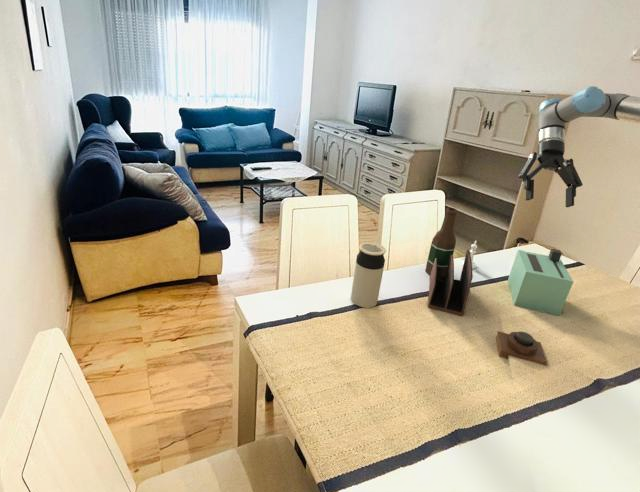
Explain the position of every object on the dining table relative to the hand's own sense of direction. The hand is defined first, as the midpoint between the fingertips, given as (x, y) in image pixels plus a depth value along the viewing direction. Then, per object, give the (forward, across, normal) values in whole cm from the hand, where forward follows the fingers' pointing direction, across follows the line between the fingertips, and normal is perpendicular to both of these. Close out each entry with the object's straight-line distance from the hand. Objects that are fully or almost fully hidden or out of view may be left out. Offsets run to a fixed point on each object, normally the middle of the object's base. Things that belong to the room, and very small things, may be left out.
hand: (549, 202), depth 127 cm
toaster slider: (+19, -1, +2) cm, 19 cm away
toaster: (+32, +3, -3) cm, 32 cm away
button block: (+49, +21, +19) cm, 56 cm away
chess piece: (+22, +16, -19) cm, 33 cm away
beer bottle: (+28, +30, -14) cm, 43 cm away
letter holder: (+36, +31, -2) cm, 48 cm away
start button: (+46, +21, +21) cm, 55 cm away
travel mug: (+42, +58, +2) cm, 72 cm away
